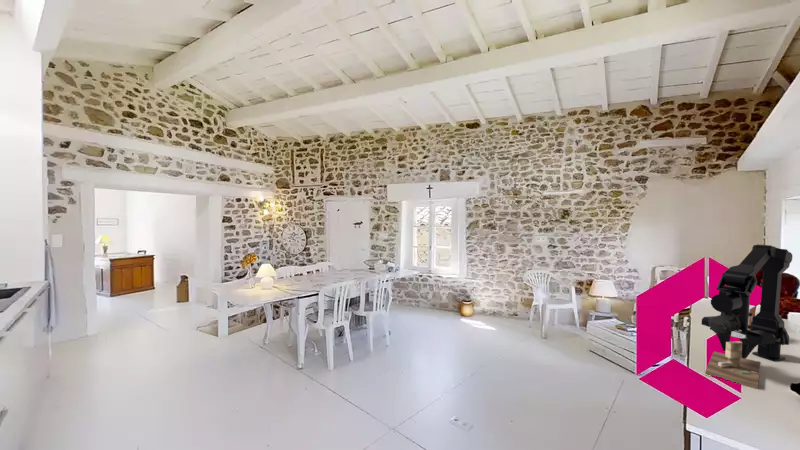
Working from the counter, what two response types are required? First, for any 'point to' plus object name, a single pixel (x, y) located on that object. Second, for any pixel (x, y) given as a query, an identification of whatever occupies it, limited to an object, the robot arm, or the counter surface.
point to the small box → (751, 310)
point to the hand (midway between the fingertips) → (734, 354)
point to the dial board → (735, 370)
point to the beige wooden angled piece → (733, 354)
